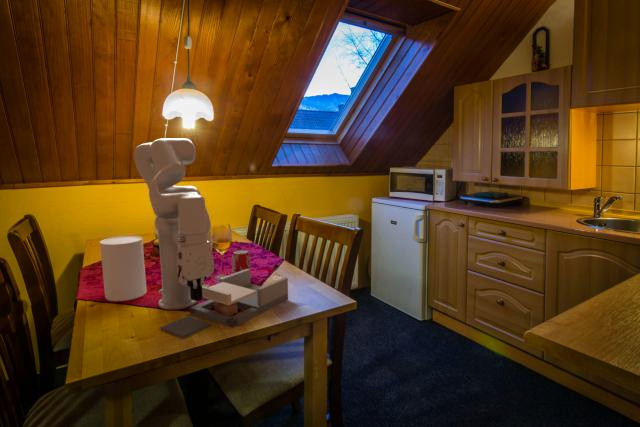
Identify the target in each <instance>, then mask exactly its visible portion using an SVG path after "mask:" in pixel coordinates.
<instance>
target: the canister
mask: <svg viewBox="0 0 640 427" xmlns="http://www.w3.org/2000/svg"><path fill="white" fill-rule="evenodd" d="M99 247H100V259H101V268H102V277H103V278H102V279H103V288H104V290H103V291H104V298H105V300H107V301H111V302H124V301H131V300H135V299H138V298H141V297H143V296H144V295H145V294H146V293H147V292H148V291H147V280H146V268H145V267H146V266H145V255H144V254H145V253H144V242H143V237H142V236H140V235H139V236H138V235H120V236H112V237H108V238H105V239H102V240H100V241H99Z"/></svg>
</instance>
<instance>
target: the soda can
mask: <svg viewBox="0 0 640 427" xmlns="http://www.w3.org/2000/svg"><path fill="white" fill-rule="evenodd" d="M245 269H250V280H251V277H252V272H251V271H252V270H251V269H252V266H251V255H250V254H249V251H248V250H246V249H239V250H238V249H236V250H234V251H233V253H232V256H231V271H232V273H231V274H234V273H237V272H239V271H242V270H245Z"/></svg>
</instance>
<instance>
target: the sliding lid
mask: <svg viewBox="0 0 640 427" xmlns="http://www.w3.org/2000/svg"><path fill="white" fill-rule="evenodd" d="M256 293H257V291H256V290H252V289H248V288H244V287H240V286H237V285H233V284H229V283H225V282H221V283H219V282H218V283H216V284H213V285H210V286H205V285H203V286H202V299H207V300H213V301H216V302H219V303H223V304H226V305H231V304H233V303H235V302H237V301H240V300H242V299H244V298H247V297H249V296H251V295H254V294H256Z"/></svg>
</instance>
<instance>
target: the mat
mask: <svg viewBox="0 0 640 427" xmlns="http://www.w3.org/2000/svg"><path fill="white" fill-rule="evenodd" d="M211 326H212V324H211V322H209V321H206V320H204V319H200V318H197V317H194V316H191V315H187V316H185V317H182V318H180V319H177V320H174V321H172V322H169V323H168V324H165V325H162V326H160V330H161V331H163V332H165V333H168V334H169V335H173V336H175V337H177V338H180V339H185V338H187V337H189V336H192V335H193V334H196V333H198V332H200V331H203V330H205V329H206V328H209V327H211Z"/></svg>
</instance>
